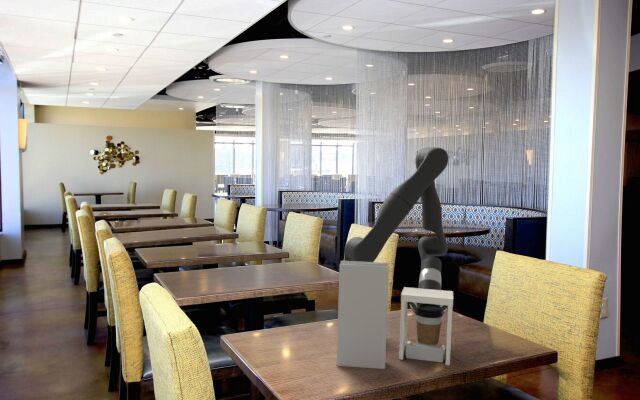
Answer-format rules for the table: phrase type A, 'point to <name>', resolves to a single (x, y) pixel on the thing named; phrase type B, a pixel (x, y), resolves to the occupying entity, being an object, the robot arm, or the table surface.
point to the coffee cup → (428, 324)
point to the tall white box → (362, 314)
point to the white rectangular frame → (410, 349)
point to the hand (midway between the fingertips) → (426, 329)
